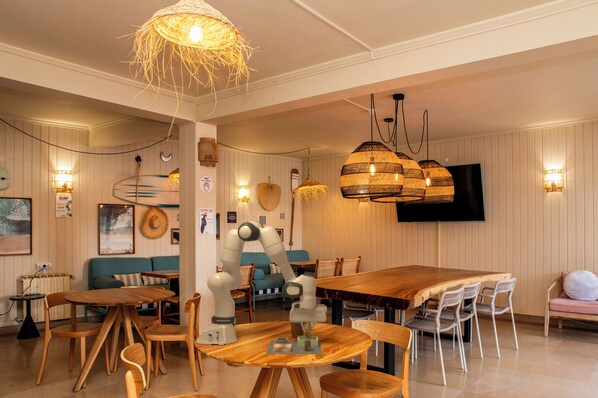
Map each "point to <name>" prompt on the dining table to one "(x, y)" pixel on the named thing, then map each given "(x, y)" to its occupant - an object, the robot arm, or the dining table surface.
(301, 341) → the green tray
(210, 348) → the dining table surface
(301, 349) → the bench mat
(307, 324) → the oak dowel
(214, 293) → the robot arm
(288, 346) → the beech plate
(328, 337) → the dining table surface
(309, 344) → the bench dog
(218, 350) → the dining table surface
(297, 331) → the disposable coffee cup
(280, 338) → the dowel socket
